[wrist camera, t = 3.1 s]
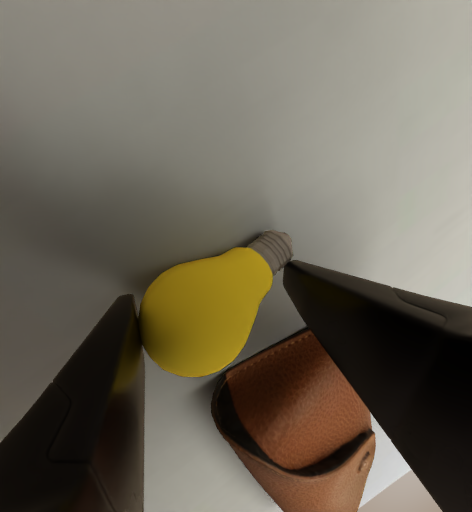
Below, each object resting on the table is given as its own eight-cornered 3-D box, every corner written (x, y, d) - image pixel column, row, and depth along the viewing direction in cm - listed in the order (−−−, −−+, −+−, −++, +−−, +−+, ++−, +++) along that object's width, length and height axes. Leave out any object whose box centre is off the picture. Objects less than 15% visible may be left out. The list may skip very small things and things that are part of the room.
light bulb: (111, 303, 9) (112, 335, 6) (240, 205, 11) (294, 188, 8) (172, 371, 10) (203, 431, 7) (280, 270, 12) (344, 278, 9)
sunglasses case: (376, 446, 23) (402, 564, 17) (294, 442, 25) (295, 546, 20) (356, 303, 13) (402, 474, 8) (224, 318, 15) (192, 459, 10)
